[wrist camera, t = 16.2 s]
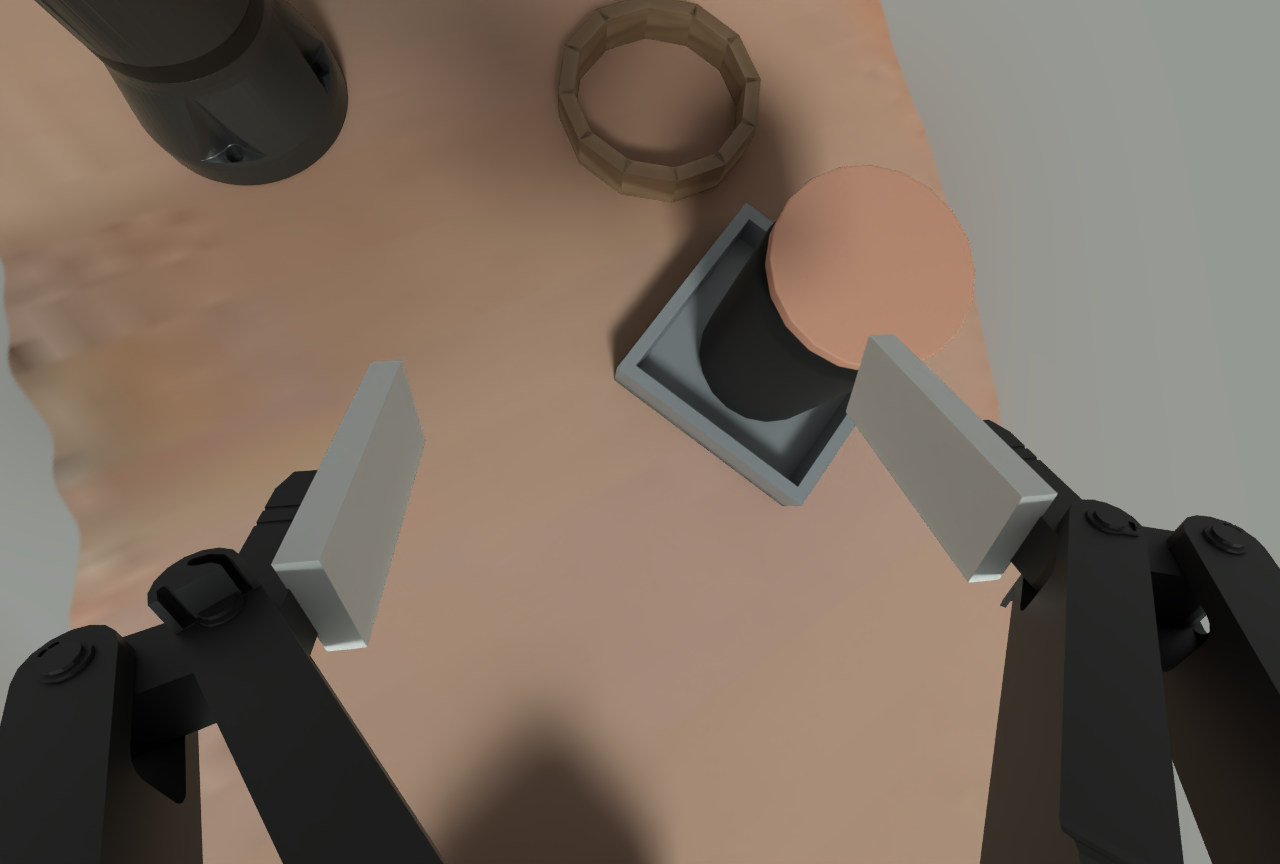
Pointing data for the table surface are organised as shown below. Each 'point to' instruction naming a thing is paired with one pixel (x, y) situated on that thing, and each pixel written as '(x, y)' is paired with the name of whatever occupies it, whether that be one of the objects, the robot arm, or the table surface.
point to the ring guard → (670, 21)
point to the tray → (678, 391)
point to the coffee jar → (837, 291)
